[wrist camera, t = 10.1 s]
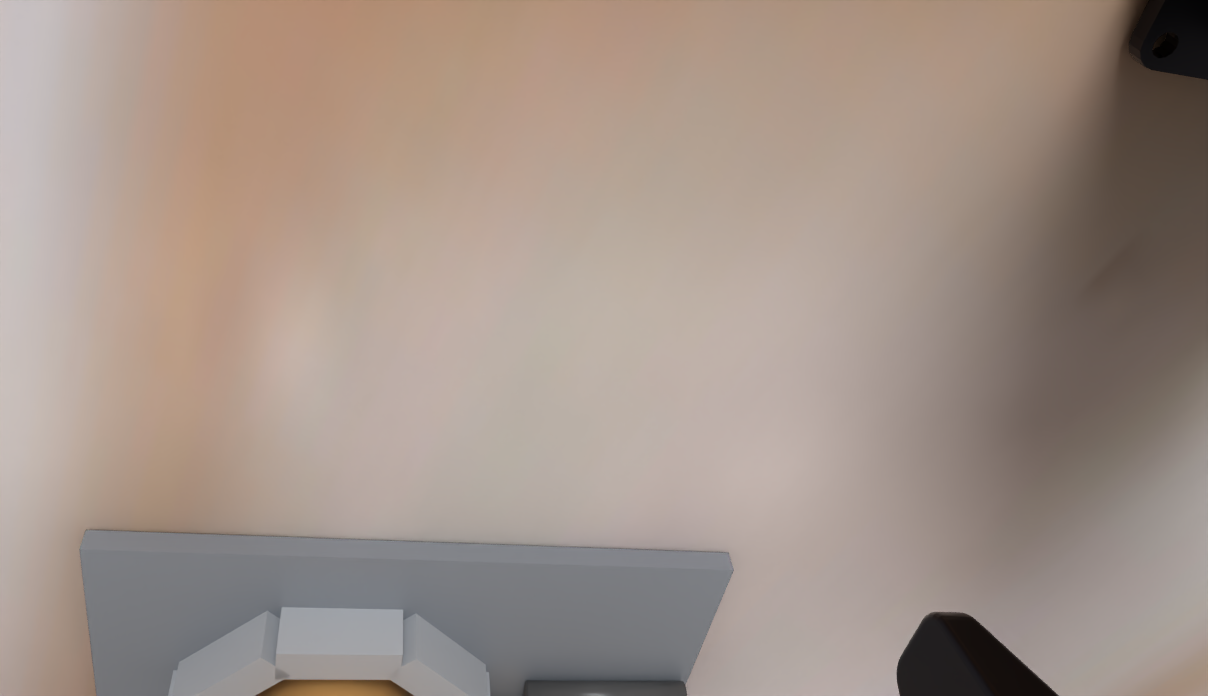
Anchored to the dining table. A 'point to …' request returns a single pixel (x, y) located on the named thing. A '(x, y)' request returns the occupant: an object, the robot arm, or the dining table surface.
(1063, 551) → the dining table surface
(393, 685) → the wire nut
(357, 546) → the junction socket
